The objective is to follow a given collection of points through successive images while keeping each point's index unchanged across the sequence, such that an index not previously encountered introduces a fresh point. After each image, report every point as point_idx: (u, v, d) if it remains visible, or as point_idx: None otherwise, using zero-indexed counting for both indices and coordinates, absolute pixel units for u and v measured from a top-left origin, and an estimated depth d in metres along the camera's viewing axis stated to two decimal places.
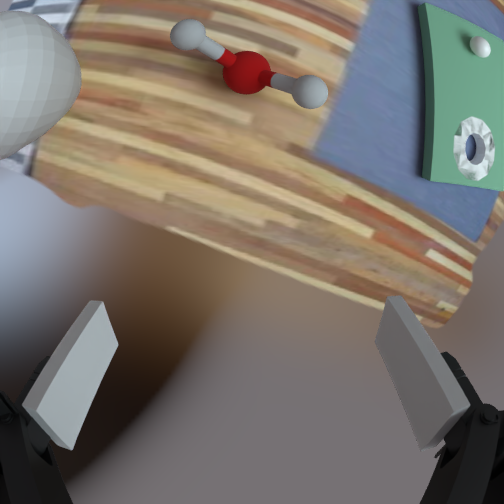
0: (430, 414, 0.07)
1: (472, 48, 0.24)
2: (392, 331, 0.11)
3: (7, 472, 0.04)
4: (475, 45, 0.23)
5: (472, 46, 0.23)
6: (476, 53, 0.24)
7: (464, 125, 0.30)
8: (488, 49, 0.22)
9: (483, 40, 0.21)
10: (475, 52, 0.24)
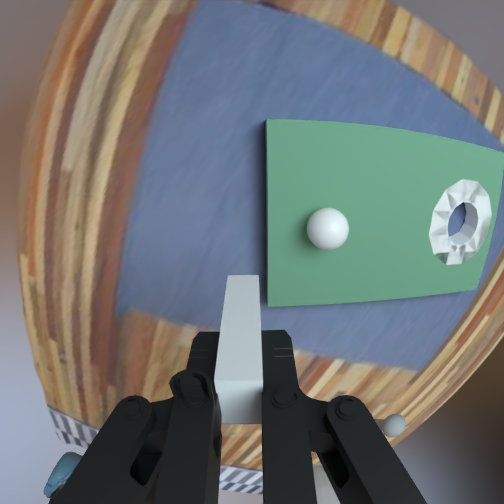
0: None
1: None
2: None
3: (168, 462, 0.06)
4: None
5: None
6: None
7: (438, 248, 0.27)
8: (339, 232, 0.22)
9: (324, 242, 0.23)
10: None
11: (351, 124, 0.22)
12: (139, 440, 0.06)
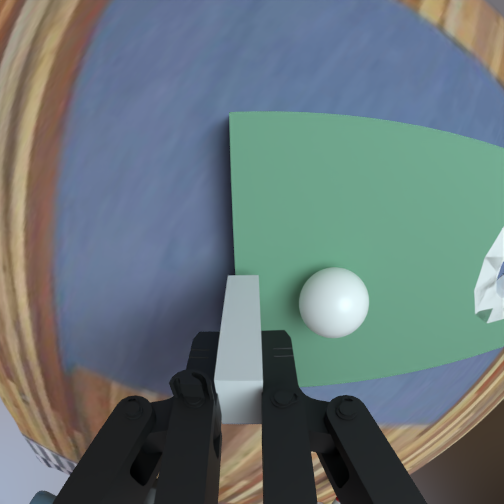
0: None
1: None
2: None
3: (168, 462, 0.06)
4: None
5: None
6: None
7: (481, 305, 0.17)
8: (354, 317, 0.13)
9: (326, 332, 0.13)
10: None
11: (380, 121, 0.12)
12: (139, 440, 0.06)
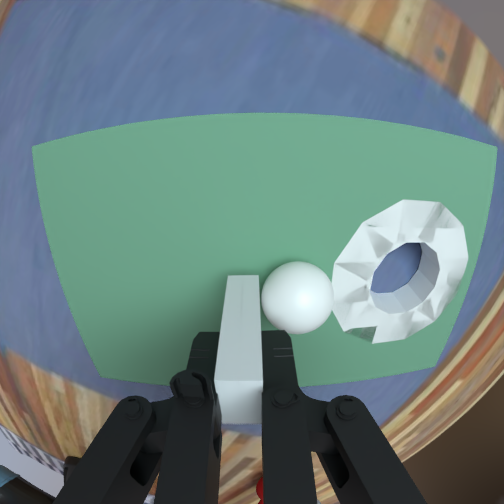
0: None
1: None
2: None
3: (168, 463, 0.06)
4: None
5: None
6: None
7: (352, 322, 0.17)
8: (281, 313, 0.13)
9: None
10: None
11: (138, 124, 0.12)
12: (139, 440, 0.06)
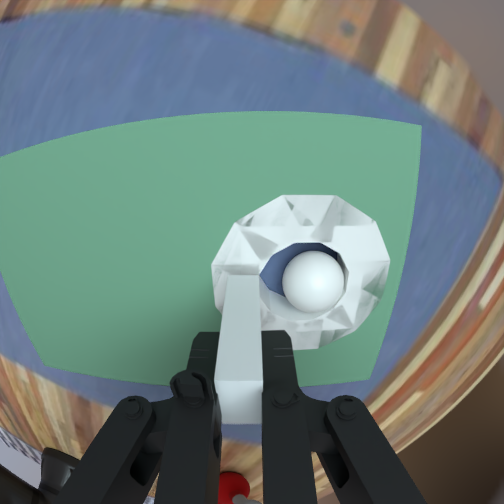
0: None
1: None
2: None
3: (168, 462, 0.06)
4: None
5: None
6: (290, 302, 0.17)
7: None
8: (292, 260, 0.16)
9: None
10: None
11: (38, 146, 0.12)
12: (139, 440, 0.06)
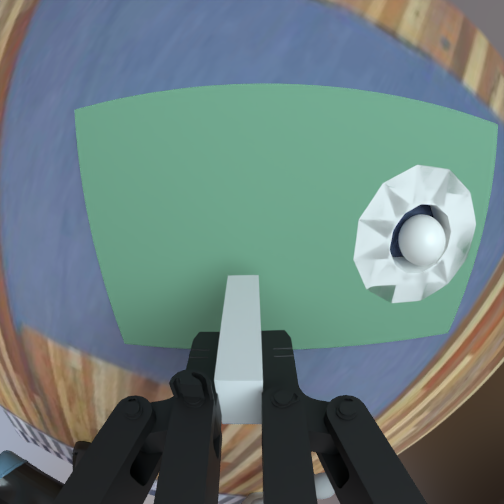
0: None
1: None
2: None
3: (168, 462, 0.06)
4: None
5: None
6: (405, 256, 0.18)
7: (374, 279, 0.18)
8: (408, 220, 0.18)
9: None
10: (405, 256, 0.18)
11: (185, 90, 0.13)
12: (139, 440, 0.06)
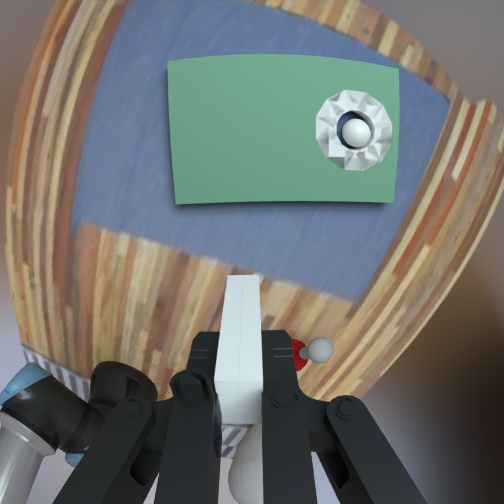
0: None
1: None
2: None
3: (168, 462, 0.06)
4: None
5: None
6: (346, 140, 0.32)
7: (330, 152, 0.32)
8: (346, 122, 0.32)
9: None
10: (346, 141, 0.32)
11: (229, 55, 0.27)
12: (139, 440, 0.06)
